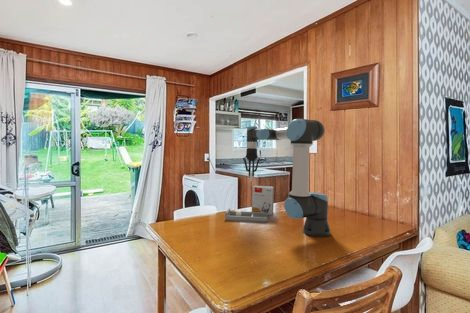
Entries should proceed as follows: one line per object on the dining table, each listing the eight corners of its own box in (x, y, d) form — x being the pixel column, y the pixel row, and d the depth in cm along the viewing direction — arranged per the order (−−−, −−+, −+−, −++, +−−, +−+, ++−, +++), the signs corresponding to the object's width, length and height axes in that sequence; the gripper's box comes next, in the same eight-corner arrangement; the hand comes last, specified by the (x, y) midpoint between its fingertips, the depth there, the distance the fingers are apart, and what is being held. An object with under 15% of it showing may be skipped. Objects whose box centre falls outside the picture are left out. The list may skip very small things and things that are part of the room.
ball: (240, 210, 182) (234, 211, 181) (240, 210, 178) (235, 212, 177) (241, 215, 181) (236, 217, 181) (242, 215, 177) (237, 217, 177)
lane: (267, 216, 182) (267, 209, 182) (267, 222, 168) (267, 214, 168) (228, 214, 186) (228, 208, 186) (225, 220, 173) (225, 213, 172)
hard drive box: (251, 213, 191) (251, 186, 190) (253, 210, 198) (253, 185, 198) (272, 215, 187) (272, 187, 186) (273, 212, 194) (274, 186, 193)
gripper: (261, 148, 185) (260, 180, 186) (243, 147, 187) (242, 179, 188) (260, 148, 178) (260, 182, 179) (242, 148, 180) (241, 181, 181)
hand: (251, 180), depth 184 cm, fingers closed
